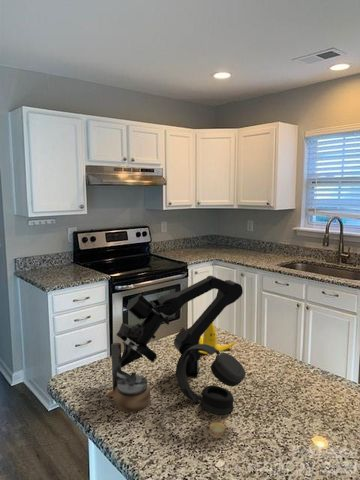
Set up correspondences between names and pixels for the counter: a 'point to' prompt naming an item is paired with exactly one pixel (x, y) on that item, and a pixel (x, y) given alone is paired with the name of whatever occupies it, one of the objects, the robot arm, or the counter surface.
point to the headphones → (223, 370)
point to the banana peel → (212, 339)
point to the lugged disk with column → (125, 376)
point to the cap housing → (131, 400)
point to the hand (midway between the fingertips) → (119, 367)
